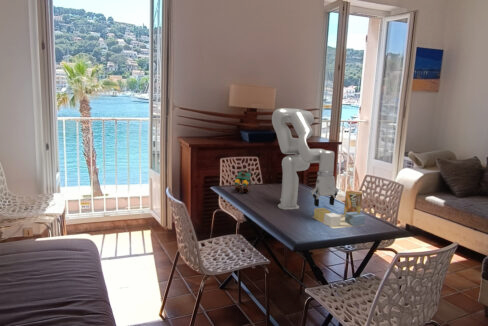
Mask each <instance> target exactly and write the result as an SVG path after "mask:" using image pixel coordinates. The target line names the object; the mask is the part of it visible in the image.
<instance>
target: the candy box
mask: <svg viewBox="0 0 488 326" xmlns="http://www.w3.org/2000/svg"><path fill="white" fill-rule="evenodd" d="M344 198H345V199H344V208H343V215H344V216H345V213H348V212H358V213H360V214H361V210H362V209H361V208H362V200H363V199H362V198H363V191H360V190H352V189H346V191H345V197H344Z"/></svg>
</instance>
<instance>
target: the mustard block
mask: <svg viewBox="0 0 488 326" xmlns="http://www.w3.org/2000/svg"><path fill="white" fill-rule="evenodd" d="M313 211H314V212H313V217H314V218H316V219H317V220H316V219H315V220H316V221H318V220H319V222H320V221H324V214H326V213H331V210H330V209H326V208H325V207H318V208H314V210H313ZM314 218H313V219H314Z"/></svg>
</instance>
